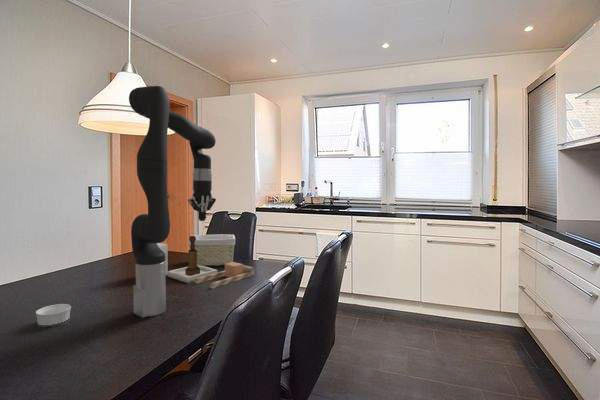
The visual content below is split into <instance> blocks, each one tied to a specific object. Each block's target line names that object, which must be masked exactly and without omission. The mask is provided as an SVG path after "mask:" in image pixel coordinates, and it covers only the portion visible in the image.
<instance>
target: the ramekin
mask: <svg viewBox="0 0 600 400" xmlns="http://www.w3.org/2000/svg"><path fill="white" fill-rule="evenodd" d="M71 309H72V306H71V304H68V303H57V304H52V305H47V306H43V307H41V308H39V309H37V310H36V311H35V315H36V322H37V325H38V324H39V325H52V324H57V323H61V322H64V321H66V320H68V319H69V320H70V317H71V315H70V314H71ZM69 320H68V321H69ZM39 325H38V326H39Z"/></svg>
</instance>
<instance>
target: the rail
mask: <svg viewBox="0 0 600 400" xmlns="http://www.w3.org/2000/svg"><path fill="white" fill-rule="evenodd" d="M254 272H255V269H254V267H253V266H249V265H244V264H243V274H240V275H237V276H233V277H230V278H228V277H226V278H222V277H225V270H223V271H219V272H218V273H214V274H211V275H207V276H203V277H200V278H196V279H195V282H194V283H195V284H196V285H197V284H201V283H205V282H207V281H211V280H214V279H215V280H216V279H218V278H222V279H220V280H217V281H213V282H211V283H210V285H209V286H210V287H209V288H210V289H212V290H213V289H216V288H219V287H222V286H225V285H228V284H232V283H235V282H238V281H241V280H244V279H247V278H250V277H254V275H255V273H254Z"/></svg>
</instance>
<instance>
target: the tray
mask: <svg viewBox="0 0 600 400" xmlns="http://www.w3.org/2000/svg"><path fill="white" fill-rule="evenodd" d="M197 267H199V268H200V274H197V275H193V276H188V275H186V274H185V270H186V269H187V268H188V266H185V267H180V268H177V269H171V270H168V275H167V277H168V278H170V279H171V278H172V279H174V280H176V281H177V280H178V281H180V282H184V283H186V284H190V283H193V282H194V283H195V279H196V278H200V277H203V276H207V275H211V274H214V273H218V269H216V268H211V267H209V266H201V265H197Z"/></svg>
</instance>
